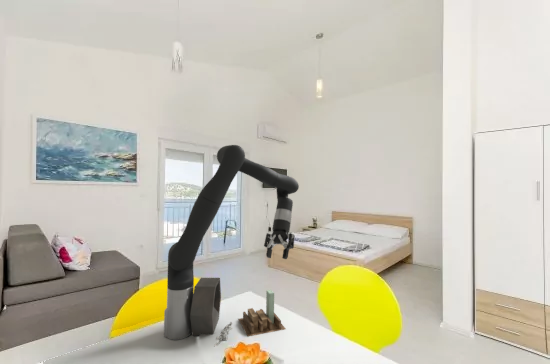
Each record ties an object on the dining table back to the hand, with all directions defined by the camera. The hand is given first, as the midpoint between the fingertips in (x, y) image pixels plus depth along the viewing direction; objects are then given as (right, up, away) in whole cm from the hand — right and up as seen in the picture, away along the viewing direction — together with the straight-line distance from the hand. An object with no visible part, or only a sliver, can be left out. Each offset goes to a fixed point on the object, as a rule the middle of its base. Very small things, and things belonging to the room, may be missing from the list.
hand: (276, 258), depth 111 cm
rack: (-6, -25, -7) cm, 26 cm away
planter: (-27, -25, -9) cm, 38 cm away
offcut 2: (-6, -24, -7) cm, 25 cm away
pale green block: (-3, -24, -5) cm, 25 cm away
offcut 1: (-9, -24, -8) cm, 27 cm away
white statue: (-19, -25, -16) cm, 35 cm away
